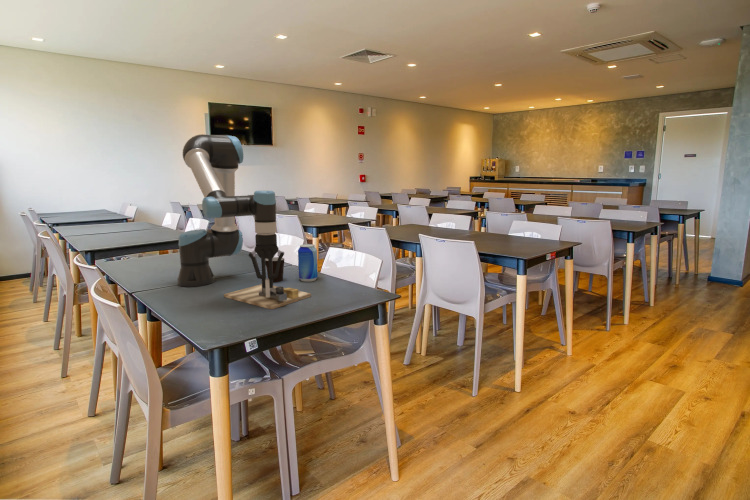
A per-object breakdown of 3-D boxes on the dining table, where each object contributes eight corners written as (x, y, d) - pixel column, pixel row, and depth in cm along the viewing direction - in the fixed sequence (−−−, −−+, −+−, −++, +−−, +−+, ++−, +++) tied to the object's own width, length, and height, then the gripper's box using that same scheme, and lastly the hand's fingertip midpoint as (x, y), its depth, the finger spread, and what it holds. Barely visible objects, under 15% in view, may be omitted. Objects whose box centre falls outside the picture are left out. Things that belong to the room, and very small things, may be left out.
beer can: (295, 281, 195) (294, 246, 193) (305, 277, 203) (304, 243, 200) (311, 282, 192) (310, 247, 189) (321, 278, 200) (320, 244, 197)
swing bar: (263, 293, 168) (262, 282, 167) (270, 291, 170) (269, 280, 169) (279, 301, 157) (278, 289, 156) (287, 299, 159) (286, 288, 158)
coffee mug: (280, 283, 192) (279, 261, 190) (262, 282, 193) (261, 260, 192) (290, 277, 203) (290, 256, 201) (273, 276, 205) (272, 255, 203)
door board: (224, 297, 171) (222, 279, 170) (263, 286, 187) (263, 270, 186) (271, 309, 155) (270, 290, 154) (311, 296, 171) (310, 279, 170)
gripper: (284, 232, 162) (286, 293, 166) (248, 232, 160) (251, 294, 164) (283, 234, 155) (285, 298, 158) (246, 235, 153) (248, 299, 156)
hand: (268, 296), depth 161 cm, fingers closed
